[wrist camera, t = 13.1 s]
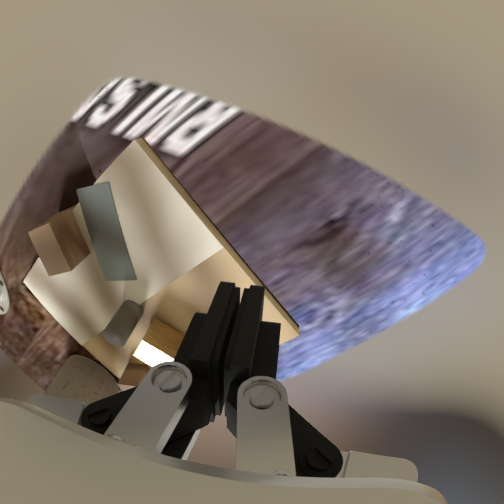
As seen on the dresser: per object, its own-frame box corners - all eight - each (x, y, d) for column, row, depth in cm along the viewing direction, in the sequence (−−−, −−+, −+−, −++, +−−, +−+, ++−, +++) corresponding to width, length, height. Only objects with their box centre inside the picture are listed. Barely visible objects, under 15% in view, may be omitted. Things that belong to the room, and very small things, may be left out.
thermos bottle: (67, 375, 34) (-16, 527, 9) (67, 344, 31) (-39, 523, 6) (115, 403, 35) (45, 567, 10) (123, 376, 32) (35, 574, 7)
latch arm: (145, 333, 25) (132, 356, 22) (154, 317, 24) (141, 342, 21) (226, 379, 26) (220, 404, 24) (240, 366, 25) (235, 393, 23)
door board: (146, 390, 32) (132, 422, 28) (23, 266, 26) (-5, 291, 22) (299, 325, 25) (299, 370, 20) (132, 124, 19) (92, 132, 14)
